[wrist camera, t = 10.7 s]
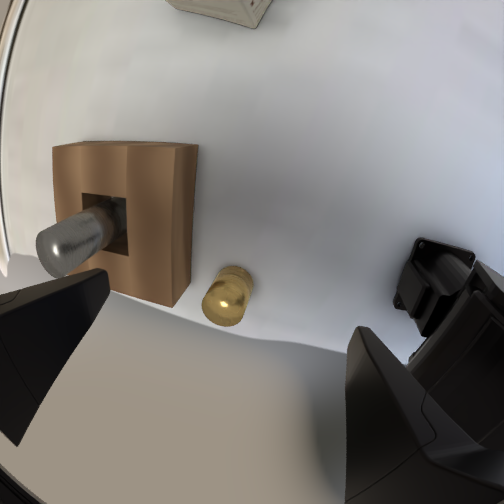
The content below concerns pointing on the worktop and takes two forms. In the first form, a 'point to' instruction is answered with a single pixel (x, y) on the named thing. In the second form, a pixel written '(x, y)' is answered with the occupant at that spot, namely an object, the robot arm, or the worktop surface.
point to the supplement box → (226, 9)
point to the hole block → (134, 210)
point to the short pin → (228, 296)
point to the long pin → (81, 236)
